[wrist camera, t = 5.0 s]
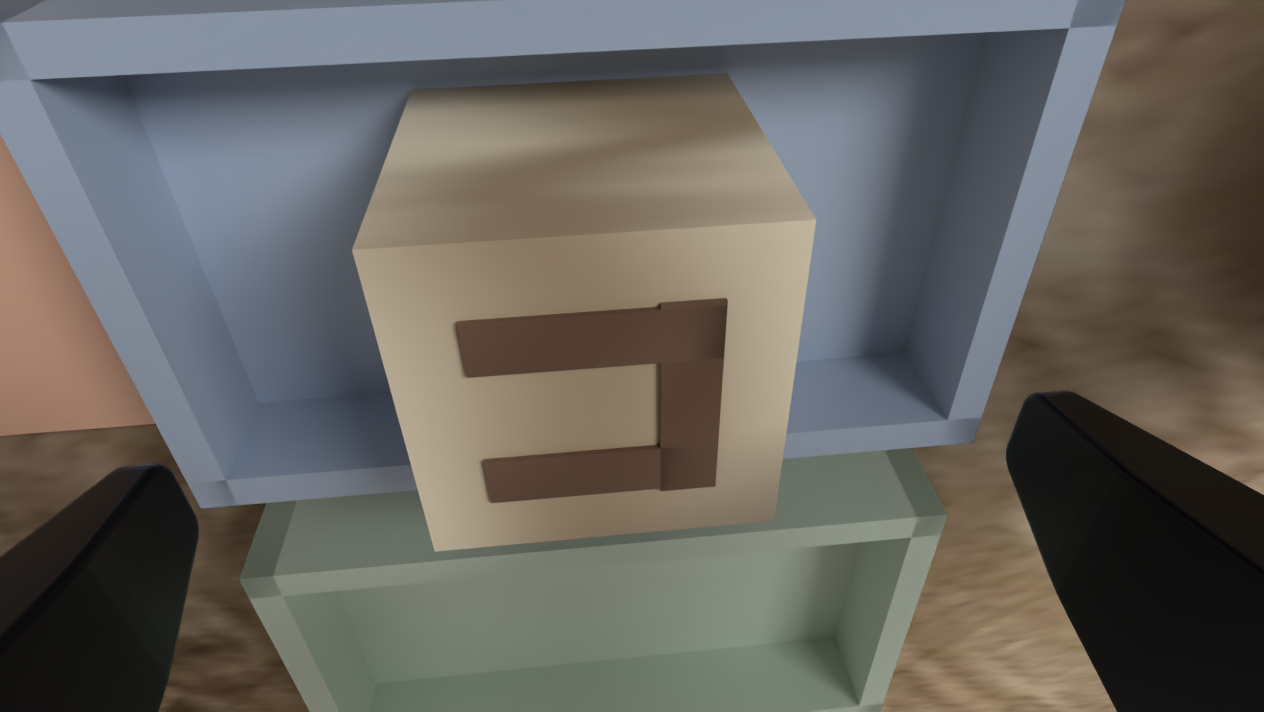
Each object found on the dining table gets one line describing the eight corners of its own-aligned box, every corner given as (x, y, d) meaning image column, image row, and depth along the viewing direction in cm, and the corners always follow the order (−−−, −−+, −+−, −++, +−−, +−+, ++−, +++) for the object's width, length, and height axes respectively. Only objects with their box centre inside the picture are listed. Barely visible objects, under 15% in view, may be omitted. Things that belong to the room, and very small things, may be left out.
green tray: (900, 425, 17) (948, 514, 15) (847, 627, 22) (878, 716, 20) (275, 477, 16) (238, 579, 14) (361, 676, 21) (342, 773, 19)
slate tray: (1028, -67, 11) (1135, -29, 9) (918, 356, 16) (972, 442, 14) (56, -27, 10) (-59, 25, 8) (245, 408, 15) (201, 509, 13)
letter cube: (727, 73, 11) (817, 222, 8) (713, 326, 14) (775, 524, 10) (411, 89, 11) (350, 253, 7) (460, 345, 14) (434, 555, 10)
